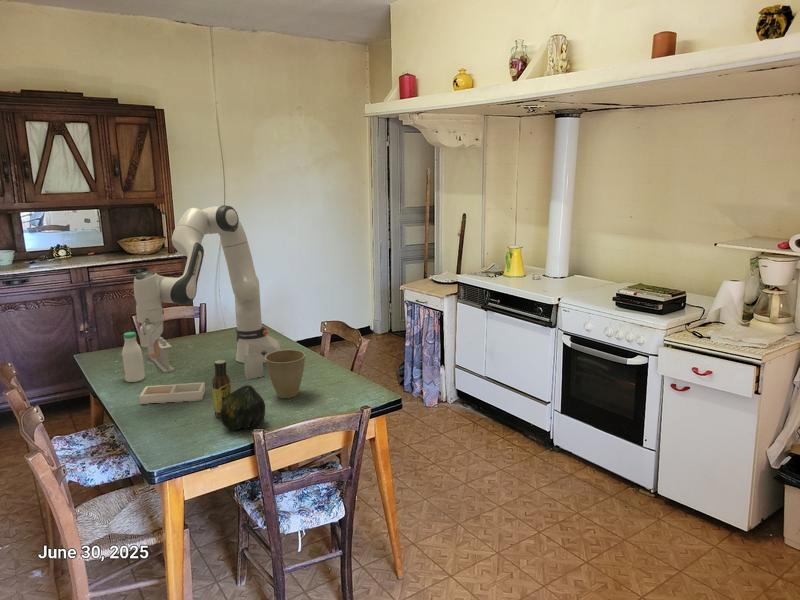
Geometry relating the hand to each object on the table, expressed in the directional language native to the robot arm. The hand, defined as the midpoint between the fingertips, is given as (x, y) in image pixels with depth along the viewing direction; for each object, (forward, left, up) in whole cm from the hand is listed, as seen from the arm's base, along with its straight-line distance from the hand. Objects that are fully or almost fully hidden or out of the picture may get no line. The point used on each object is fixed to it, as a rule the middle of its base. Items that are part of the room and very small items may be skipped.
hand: (153, 351), depth 228 cm
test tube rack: (+8, -42, -19) cm, 47 cm away
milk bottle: (+15, -24, -19) cm, 34 cm away
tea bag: (-34, -17, -19) cm, 43 cm away
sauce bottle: (-26, +20, -19) cm, 38 cm away
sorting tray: (-5, 0, -19) cm, 20 cm away
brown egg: (0, 0, -2) cm, 2 cm away
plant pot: (-48, +6, -19) cm, 52 cm away
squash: (-34, +30, -19) cm, 49 cm away
